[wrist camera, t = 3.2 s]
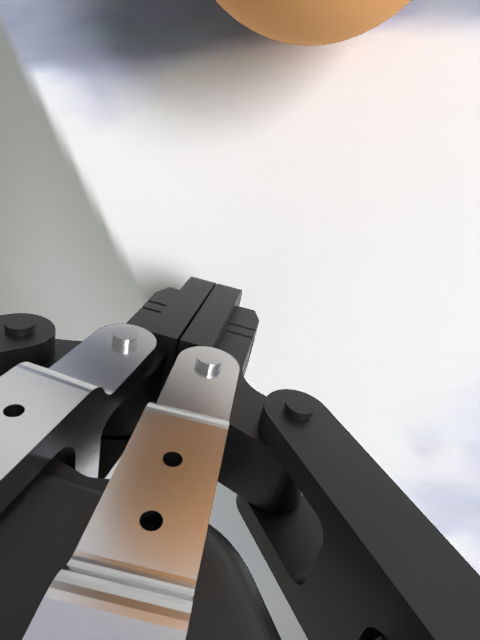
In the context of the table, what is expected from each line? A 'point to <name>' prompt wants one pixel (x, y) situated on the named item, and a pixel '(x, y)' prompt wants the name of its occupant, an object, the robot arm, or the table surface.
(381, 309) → the table surface
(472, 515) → the table surface
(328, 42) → the ball
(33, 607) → the robot arm
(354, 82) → the table surface
